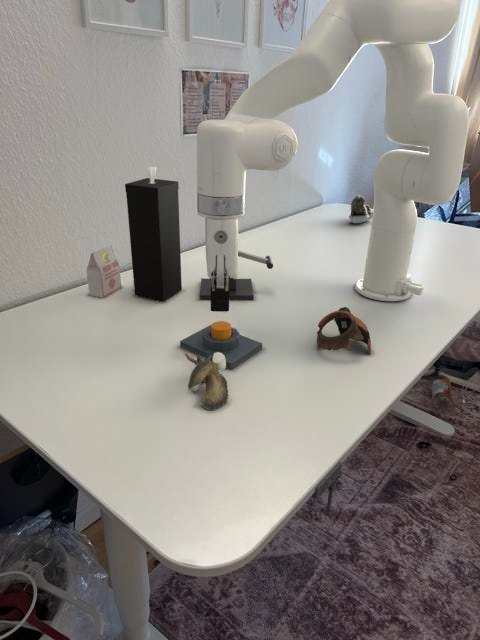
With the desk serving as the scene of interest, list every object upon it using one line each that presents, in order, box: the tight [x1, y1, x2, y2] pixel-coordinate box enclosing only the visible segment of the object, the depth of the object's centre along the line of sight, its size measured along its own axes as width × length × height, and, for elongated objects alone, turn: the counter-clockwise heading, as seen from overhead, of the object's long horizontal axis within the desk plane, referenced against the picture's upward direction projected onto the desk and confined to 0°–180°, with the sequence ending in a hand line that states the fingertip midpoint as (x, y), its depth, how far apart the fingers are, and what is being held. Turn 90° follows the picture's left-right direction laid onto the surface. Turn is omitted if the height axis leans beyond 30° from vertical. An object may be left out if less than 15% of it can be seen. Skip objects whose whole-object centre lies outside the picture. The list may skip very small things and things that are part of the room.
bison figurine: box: [348, 195, 373, 224], centre depth 166 cm, size 12×7×10 cm, turn 148°
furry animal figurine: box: [184, 352, 229, 412], centre depth 74 cm, size 8×7×9 cm
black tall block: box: [124, 166, 183, 303], centre depth 103 cm, size 8×8×28 cm
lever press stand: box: [199, 276, 254, 301], centre depth 108 cm, size 12×10×12 cm
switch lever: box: [238, 250, 274, 270], centre depth 107 cm, size 12×5×2 cm, turn 92°
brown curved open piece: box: [316, 306, 372, 355], centre depth 88 cm, size 12×10×8 cm
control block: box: [179, 323, 263, 370], centre depth 87 cm, size 12×9×3 cm
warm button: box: [210, 320, 232, 340], centre depth 86 cm, size 4×4×2 cm
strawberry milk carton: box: [86, 244, 122, 299], centre depth 107 cm, size 4×7×10 cm, turn 157°
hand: (219, 309), depth 84 cm, fingers closed
